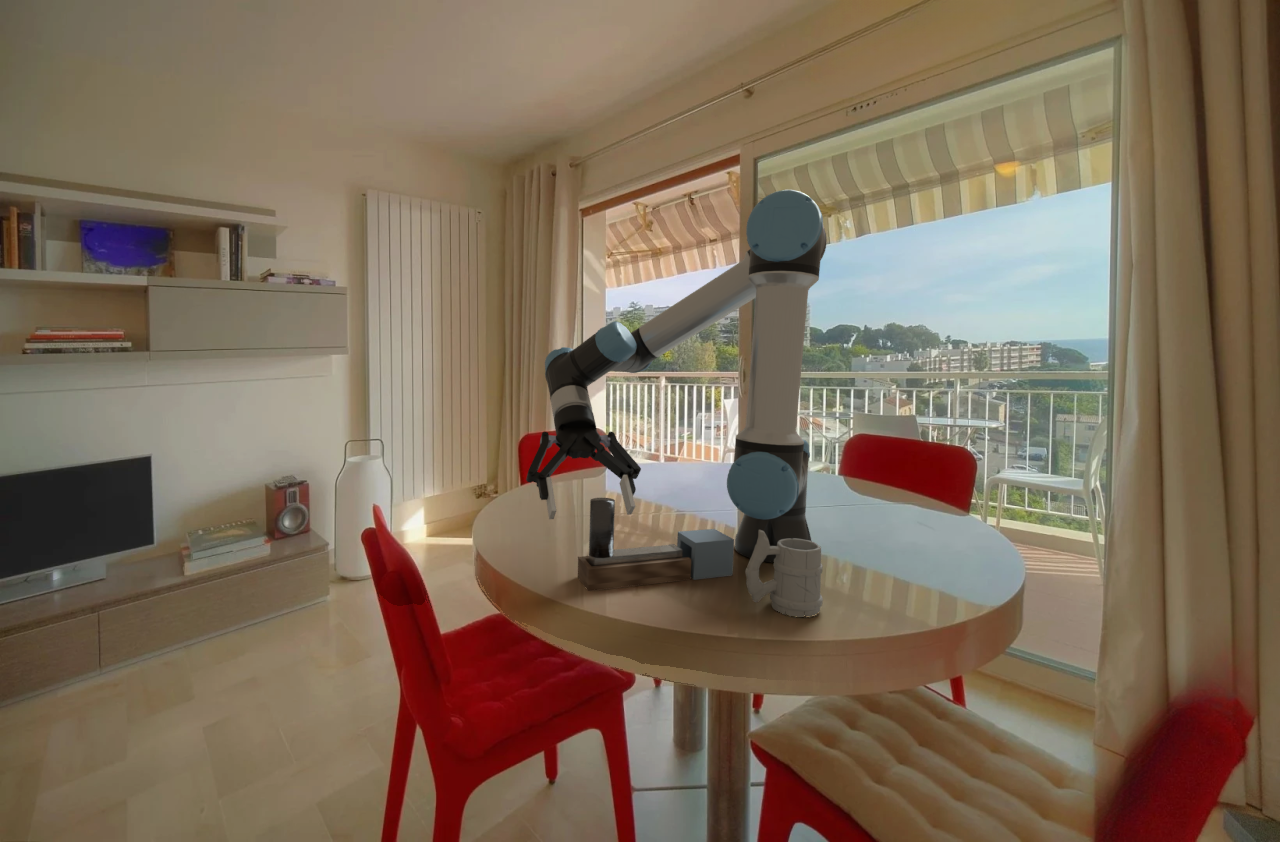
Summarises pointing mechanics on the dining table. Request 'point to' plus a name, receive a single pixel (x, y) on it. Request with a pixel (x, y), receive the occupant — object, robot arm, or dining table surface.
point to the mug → (788, 575)
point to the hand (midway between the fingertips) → (593, 513)
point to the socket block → (707, 552)
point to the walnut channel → (632, 573)
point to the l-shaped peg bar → (604, 540)
